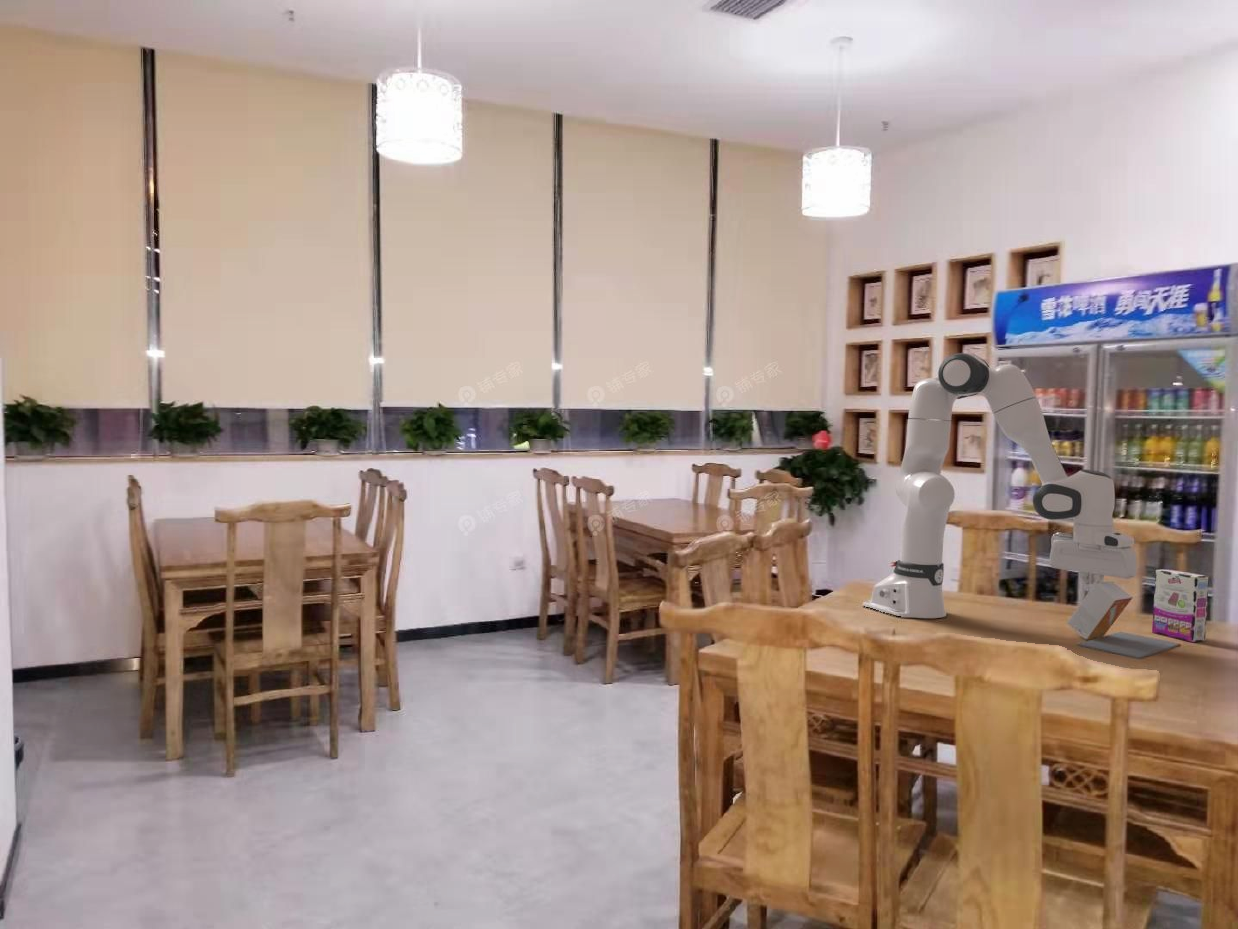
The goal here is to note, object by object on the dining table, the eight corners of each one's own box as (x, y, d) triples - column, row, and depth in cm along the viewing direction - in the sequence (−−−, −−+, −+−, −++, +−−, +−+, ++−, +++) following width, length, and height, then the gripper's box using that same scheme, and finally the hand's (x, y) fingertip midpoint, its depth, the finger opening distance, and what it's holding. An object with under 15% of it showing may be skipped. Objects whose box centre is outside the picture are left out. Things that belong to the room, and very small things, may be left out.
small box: (1086, 640, 228) (1115, 600, 222) (1065, 623, 232) (1094, 583, 226) (1104, 637, 233) (1133, 597, 226) (1083, 619, 237) (1112, 580, 231)
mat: (1077, 645, 223) (1077, 643, 223) (1120, 633, 236) (1120, 631, 236) (1138, 658, 212) (1138, 657, 212) (1180, 645, 225) (1180, 643, 225)
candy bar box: (1206, 641, 230) (1210, 575, 229) (1192, 643, 228) (1196, 576, 227) (1164, 631, 240) (1168, 568, 239) (1150, 632, 238) (1154, 569, 237)
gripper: (1045, 532, 237) (1043, 585, 238) (1129, 541, 221) (1126, 599, 221) (1058, 530, 241) (1055, 583, 241) (1141, 539, 224) (1138, 596, 225)
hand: (1090, 591), depth 231 cm, fingers closed
